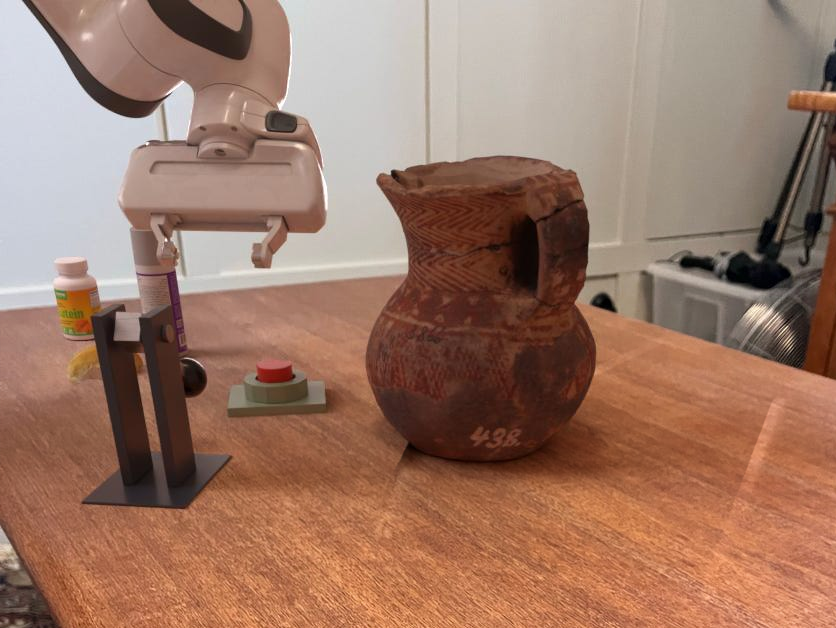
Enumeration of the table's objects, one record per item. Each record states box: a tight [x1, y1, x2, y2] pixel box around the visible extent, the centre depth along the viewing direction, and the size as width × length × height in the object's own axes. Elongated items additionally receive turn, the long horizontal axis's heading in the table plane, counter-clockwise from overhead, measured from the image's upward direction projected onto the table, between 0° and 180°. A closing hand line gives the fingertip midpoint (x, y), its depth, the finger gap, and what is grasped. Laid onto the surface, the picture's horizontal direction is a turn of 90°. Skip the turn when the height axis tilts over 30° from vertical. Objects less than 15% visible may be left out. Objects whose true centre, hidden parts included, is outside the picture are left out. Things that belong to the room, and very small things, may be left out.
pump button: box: [256, 359, 293, 383], centre depth 106 cm, size 4×4×2 cm
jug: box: [364, 154, 597, 463], centre depth 95 cm, size 22×21×25 cm
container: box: [129, 226, 189, 358], centre depth 124 cm, size 5×5×15 cm
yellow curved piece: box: [66, 344, 144, 386], centre depth 118 cm, size 8×9×4 cm
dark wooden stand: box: [81, 303, 233, 510], centre depth 86 cm, size 12×9×16 cm
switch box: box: [226, 368, 328, 418], centre depth 107 cm, size 10×8×4 cm
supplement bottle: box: [52, 256, 103, 341], centre depth 133 cm, size 5×5×10 cm
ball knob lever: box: [114, 311, 208, 399], centre depth 88 cm, size 14×4×4 cm
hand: (213, 263), depth 98 cm, fingers open, 8 cm apart
